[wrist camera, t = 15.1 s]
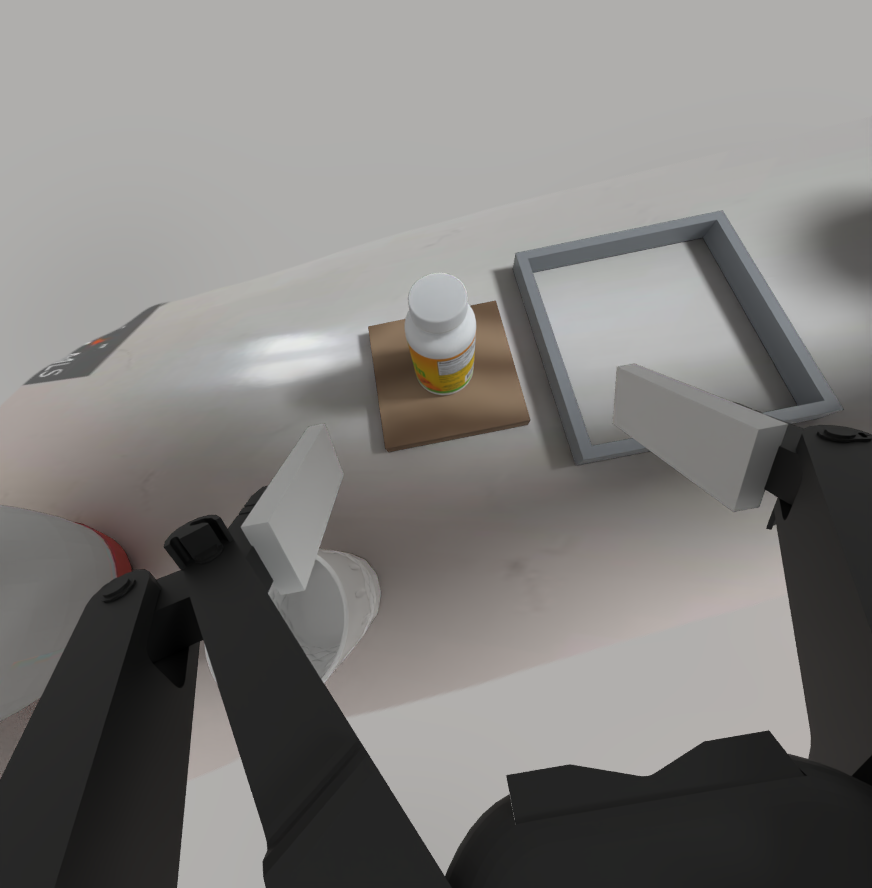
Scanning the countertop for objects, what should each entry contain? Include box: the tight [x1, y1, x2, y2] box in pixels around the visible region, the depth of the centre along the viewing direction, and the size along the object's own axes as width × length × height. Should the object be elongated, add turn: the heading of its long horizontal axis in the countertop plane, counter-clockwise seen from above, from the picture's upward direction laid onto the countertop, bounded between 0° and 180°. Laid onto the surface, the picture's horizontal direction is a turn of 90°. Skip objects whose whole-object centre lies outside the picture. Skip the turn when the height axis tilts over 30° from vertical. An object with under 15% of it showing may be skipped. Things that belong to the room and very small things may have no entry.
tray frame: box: [513, 210, 844, 465], centre depth 31 cm, size 22×21×2 cm
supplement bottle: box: [405, 273, 476, 395], centre depth 26 cm, size 5×5×10 cm
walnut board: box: [368, 301, 530, 452], centre depth 32 cm, size 13×13×1 cm
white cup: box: [204, 549, 381, 685], centre depth 22 cm, size 8×8×10 cm
